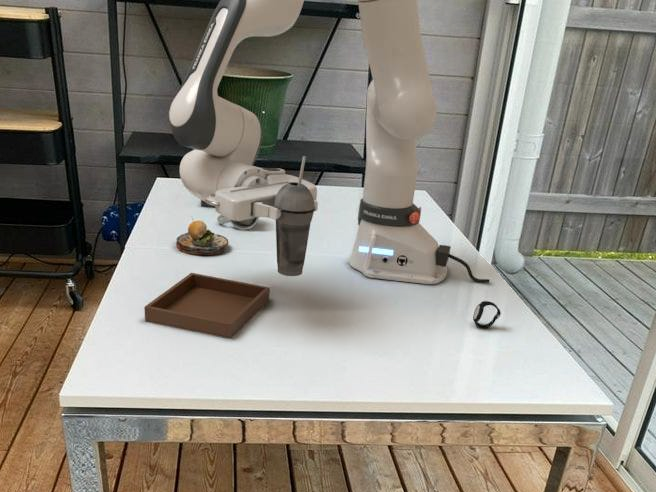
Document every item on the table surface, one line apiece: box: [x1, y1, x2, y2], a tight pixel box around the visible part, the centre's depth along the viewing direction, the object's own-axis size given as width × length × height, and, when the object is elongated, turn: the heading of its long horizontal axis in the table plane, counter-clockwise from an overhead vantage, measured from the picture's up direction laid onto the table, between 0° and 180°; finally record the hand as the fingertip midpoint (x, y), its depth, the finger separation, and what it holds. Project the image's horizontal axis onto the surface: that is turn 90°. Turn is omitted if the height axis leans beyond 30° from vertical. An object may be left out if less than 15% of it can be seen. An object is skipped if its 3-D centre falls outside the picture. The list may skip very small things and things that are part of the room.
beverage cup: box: [273, 155, 316, 277], centre depth 133 cm, size 7×7×20 cm
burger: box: [175, 217, 229, 256], centre depth 174 cm, size 12×12×8 cm
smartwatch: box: [472, 300, 502, 330], centre depth 148 cm, size 4×5×5 cm
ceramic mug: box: [216, 214, 260, 231], centre depth 190 cm, size 11×8×8 cm
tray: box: [144, 272, 271, 340], centre depth 145 cm, size 17×20×3 cm
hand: (297, 210), depth 132 cm, fingers closed on beverage cup, 7 cm apart
